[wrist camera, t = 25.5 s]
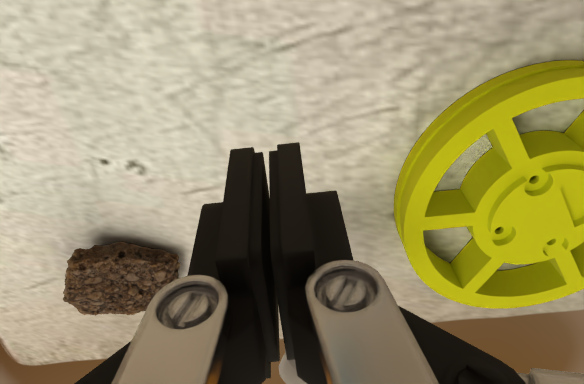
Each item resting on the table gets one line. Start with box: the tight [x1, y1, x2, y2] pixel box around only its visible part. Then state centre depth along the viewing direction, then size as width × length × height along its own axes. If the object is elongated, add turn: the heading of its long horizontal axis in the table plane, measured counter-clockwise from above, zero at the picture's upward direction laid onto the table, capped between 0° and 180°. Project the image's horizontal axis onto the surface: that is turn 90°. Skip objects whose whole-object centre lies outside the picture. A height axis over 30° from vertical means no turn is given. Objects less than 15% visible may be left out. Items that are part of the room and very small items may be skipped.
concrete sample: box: [63, 242, 180, 315], centre depth 48 cm, size 12×10×5 cm
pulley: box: [394, 60, 584, 308], centre depth 45 cm, size 28×28×5 cm
